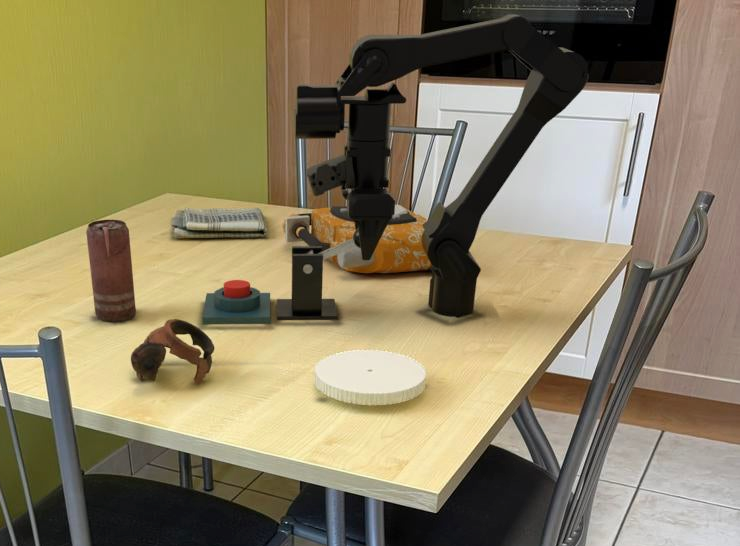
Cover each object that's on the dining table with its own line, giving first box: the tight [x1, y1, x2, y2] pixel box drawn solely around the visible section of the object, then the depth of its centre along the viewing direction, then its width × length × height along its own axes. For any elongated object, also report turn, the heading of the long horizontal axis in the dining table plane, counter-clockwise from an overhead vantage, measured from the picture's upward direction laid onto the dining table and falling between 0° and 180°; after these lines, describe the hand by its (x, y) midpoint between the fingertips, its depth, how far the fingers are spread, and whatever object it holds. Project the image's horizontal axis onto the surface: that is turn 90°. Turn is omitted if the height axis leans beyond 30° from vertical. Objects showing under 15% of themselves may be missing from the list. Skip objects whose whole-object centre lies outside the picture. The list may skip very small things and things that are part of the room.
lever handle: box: [304, 229, 361, 261], centre depth 135 cm, size 12×3×3 cm, turn 90°
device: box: [281, 203, 438, 274], centre depth 163 cm, size 23×8×30 cm
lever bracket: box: [276, 245, 339, 321], centre depth 138 cm, size 9×8×10 cm
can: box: [85, 219, 137, 323], centre depth 137 cm, size 6×6×14 cm
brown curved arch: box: [130, 318, 215, 384], centre depth 119 cm, size 12×9×8 cm
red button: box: [223, 279, 251, 298], centre depth 139 cm, size 4×4×2 cm
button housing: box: [201, 286, 271, 325], centre depth 140 cm, size 10×11×4 cm
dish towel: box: [170, 207, 269, 239], centre depth 183 cm, size 19×18×3 cm
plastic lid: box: [313, 349, 427, 406], centre depth 117 cm, size 14×14×2 cm
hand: (363, 251), depth 136 cm, fingers open, 9 cm apart
